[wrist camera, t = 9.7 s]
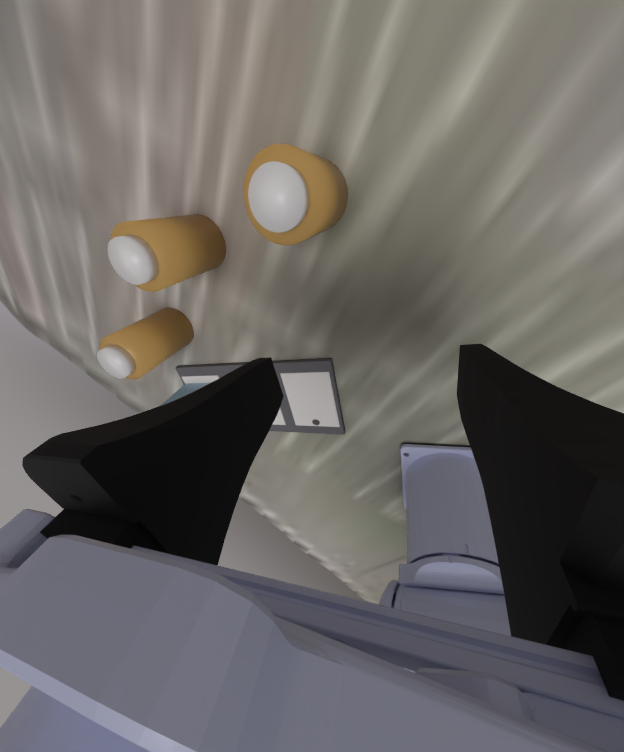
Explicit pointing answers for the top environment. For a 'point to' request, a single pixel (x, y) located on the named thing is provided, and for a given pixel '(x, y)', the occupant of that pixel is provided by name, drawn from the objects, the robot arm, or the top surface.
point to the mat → (290, 393)
